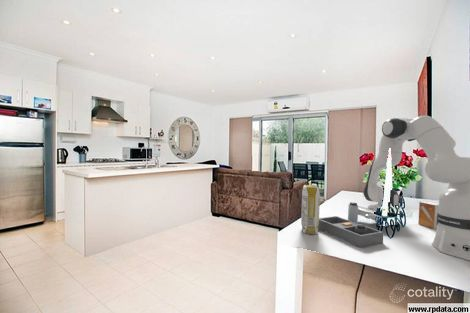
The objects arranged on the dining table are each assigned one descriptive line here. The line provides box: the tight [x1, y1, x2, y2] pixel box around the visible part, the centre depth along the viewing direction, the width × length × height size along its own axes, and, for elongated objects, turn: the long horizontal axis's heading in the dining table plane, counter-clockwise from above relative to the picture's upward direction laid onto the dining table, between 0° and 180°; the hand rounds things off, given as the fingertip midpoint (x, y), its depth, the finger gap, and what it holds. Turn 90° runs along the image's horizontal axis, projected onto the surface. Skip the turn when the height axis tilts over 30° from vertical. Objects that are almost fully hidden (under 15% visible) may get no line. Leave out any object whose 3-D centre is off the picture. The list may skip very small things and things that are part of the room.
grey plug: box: [347, 201, 359, 224], centre depth 121 cm, size 5×5×13 cm
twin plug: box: [355, 224, 367, 235], centre depth 102 cm, size 5×5×5 cm
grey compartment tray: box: [318, 215, 384, 249], centre depth 109 cm, size 26×14×6 cm, turn 23°
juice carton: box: [300, 183, 321, 235], centre depth 112 cm, size 9×8×24 cm
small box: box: [418, 200, 439, 230], centre depth 126 cm, size 8×6×13 cm
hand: (358, 214), depth 123 cm, fingers open, 8 cm apart
